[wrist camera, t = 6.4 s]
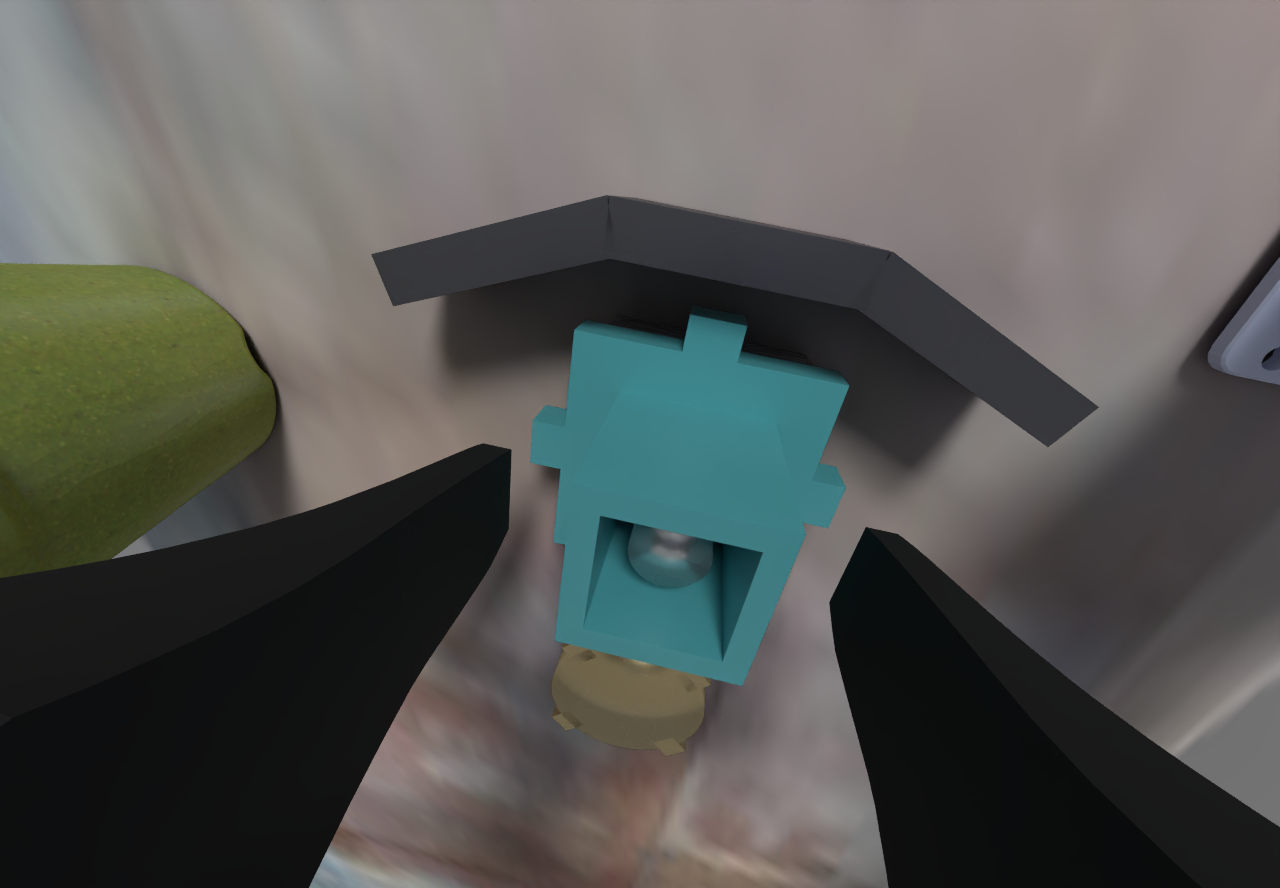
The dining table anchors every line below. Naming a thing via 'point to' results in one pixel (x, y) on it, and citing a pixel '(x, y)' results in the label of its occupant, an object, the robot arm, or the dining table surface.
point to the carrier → (758, 258)
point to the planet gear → (685, 486)
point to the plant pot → (114, 407)
